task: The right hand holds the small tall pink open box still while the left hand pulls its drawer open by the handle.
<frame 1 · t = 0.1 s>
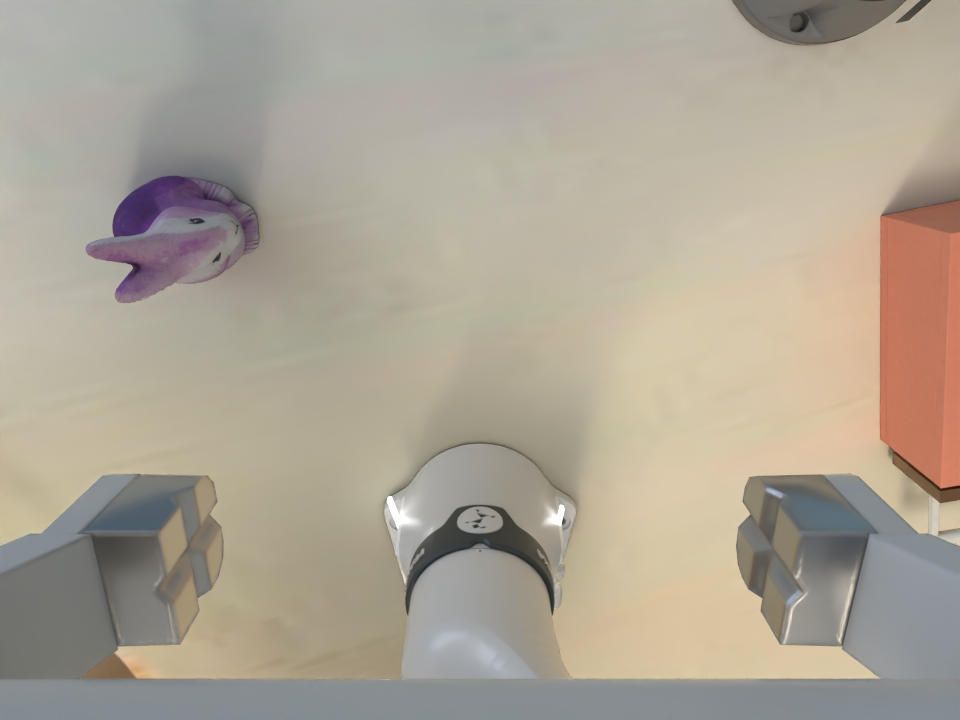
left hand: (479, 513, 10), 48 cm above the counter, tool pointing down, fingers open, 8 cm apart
tall pink open box: (941, 322, 59), on the counter
figurine: (207, 220, 56), on the counter
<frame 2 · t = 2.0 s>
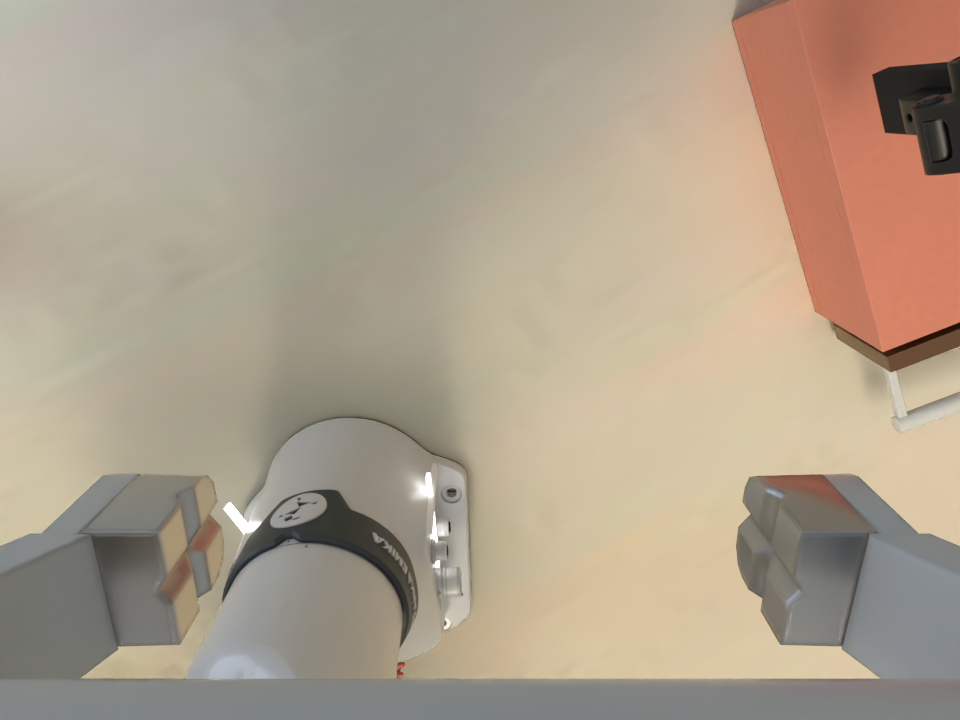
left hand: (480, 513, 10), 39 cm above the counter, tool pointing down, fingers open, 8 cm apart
drawer: (909, 233, 43), point 4 cm above the counter, slide at 1.0 cm
tall pink open box: (852, 143, 46), on the counter
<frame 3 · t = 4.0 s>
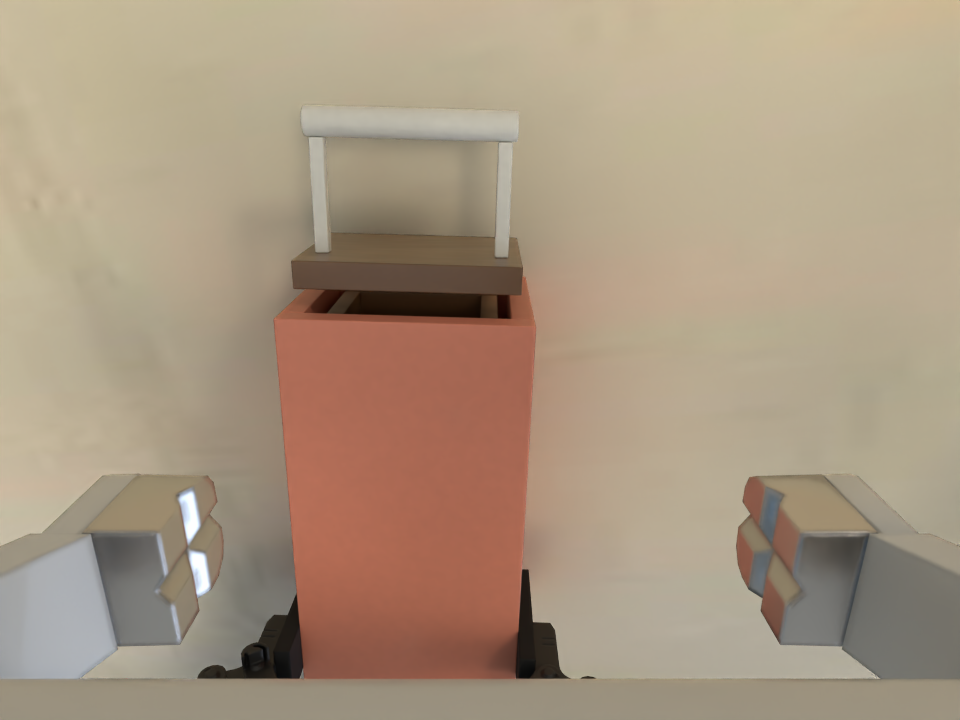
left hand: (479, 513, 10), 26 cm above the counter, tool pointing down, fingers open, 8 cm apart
drawer: (416, 389, 33), point 4 cm above the counter, slide at 1.0 cm
tall pink open box: (425, 452, 39), on the counter, touching right hand
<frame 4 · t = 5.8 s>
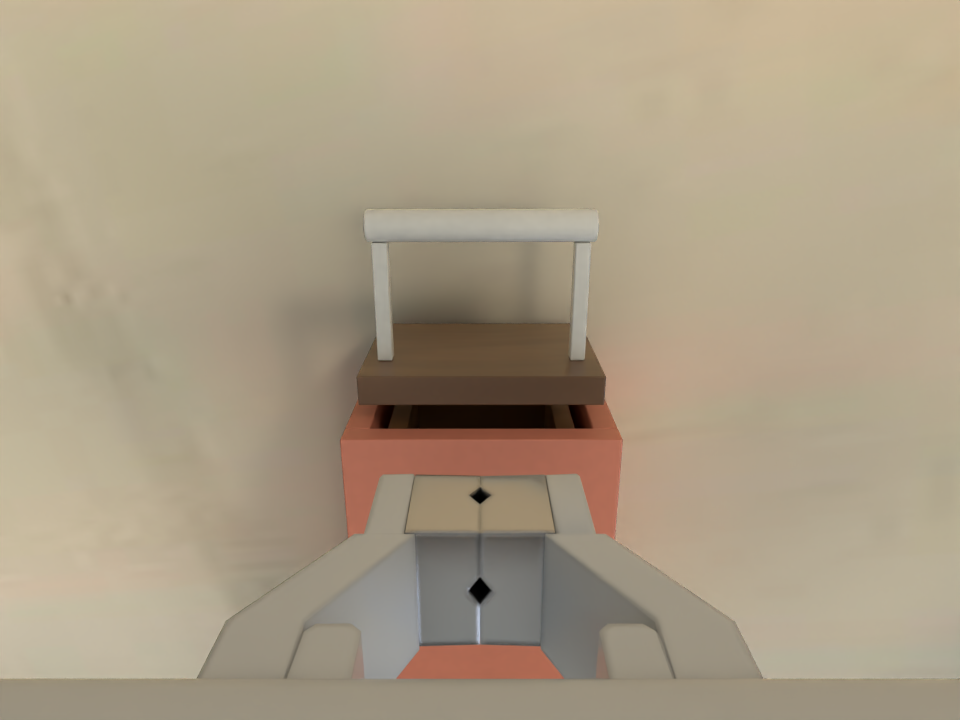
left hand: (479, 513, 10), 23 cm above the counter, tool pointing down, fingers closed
drawer: (481, 489, 31), point 4 cm above the counter, slide at 1.0 cm
tall pink open box: (481, 538, 37), on the counter, touching right hand
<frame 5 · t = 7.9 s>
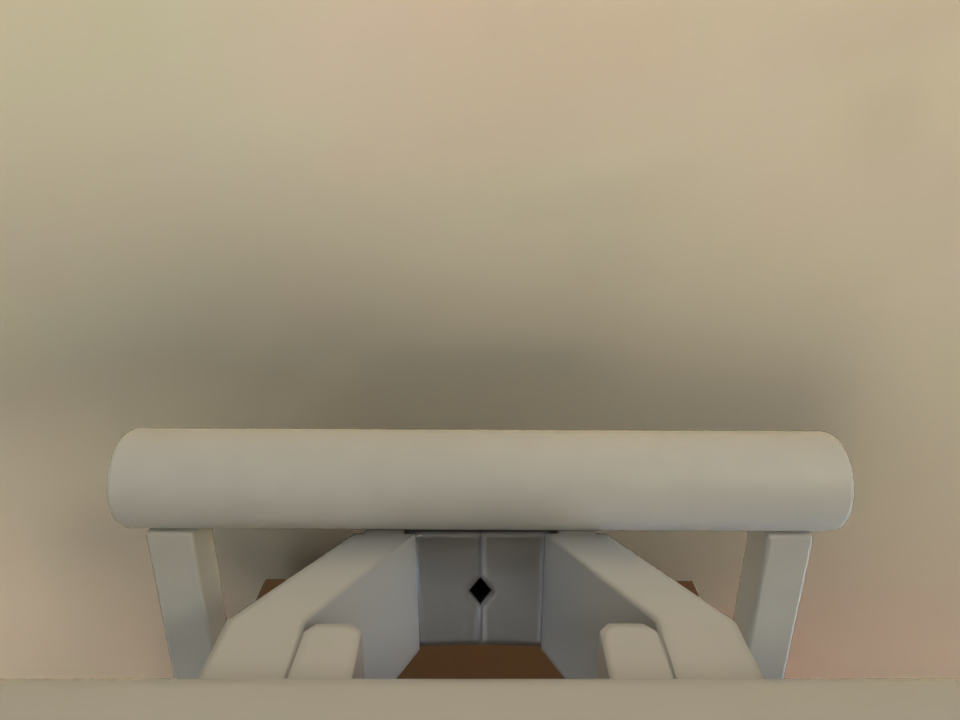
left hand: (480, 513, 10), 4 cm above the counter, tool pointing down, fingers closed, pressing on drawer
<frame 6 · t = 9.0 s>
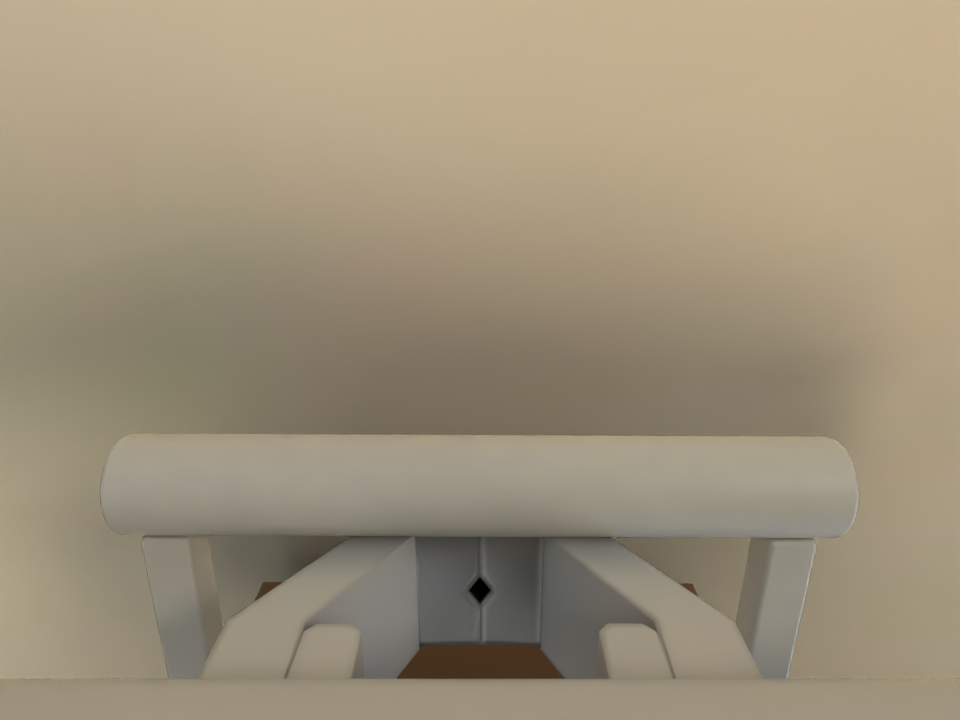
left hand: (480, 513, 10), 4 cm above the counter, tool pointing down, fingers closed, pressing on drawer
when the right hand's fingers open (4 cm above the counter, at t = 10.8 s): tall pink open box stays where it is, on the counter.
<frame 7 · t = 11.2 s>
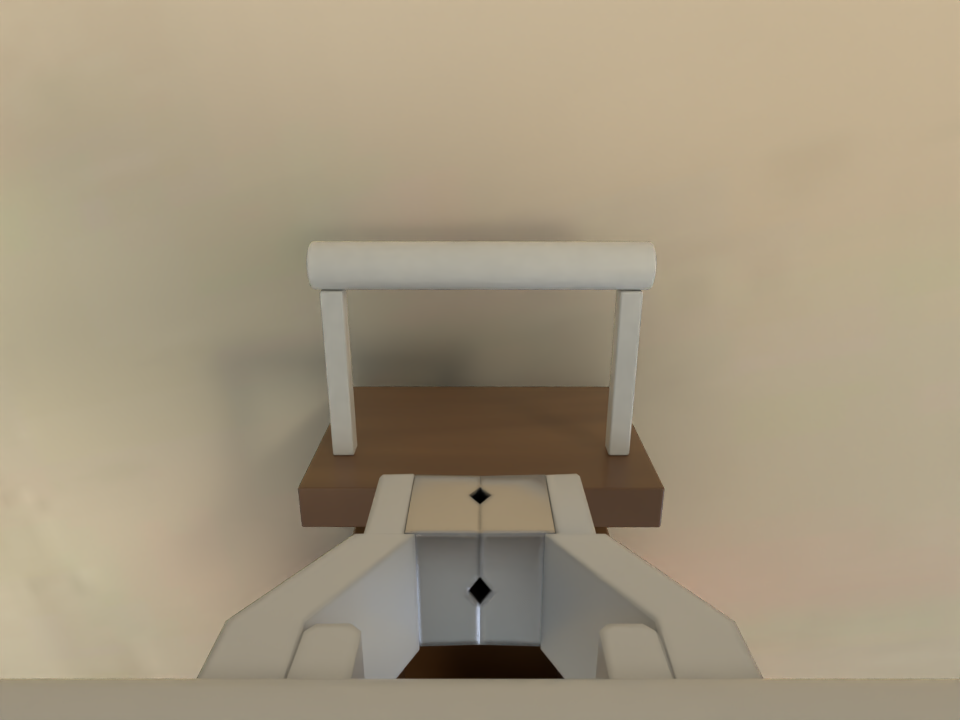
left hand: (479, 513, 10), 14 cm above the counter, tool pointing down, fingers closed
drawer: (480, 614, 23), point 4 cm above the counter, slide at 7.4 cm
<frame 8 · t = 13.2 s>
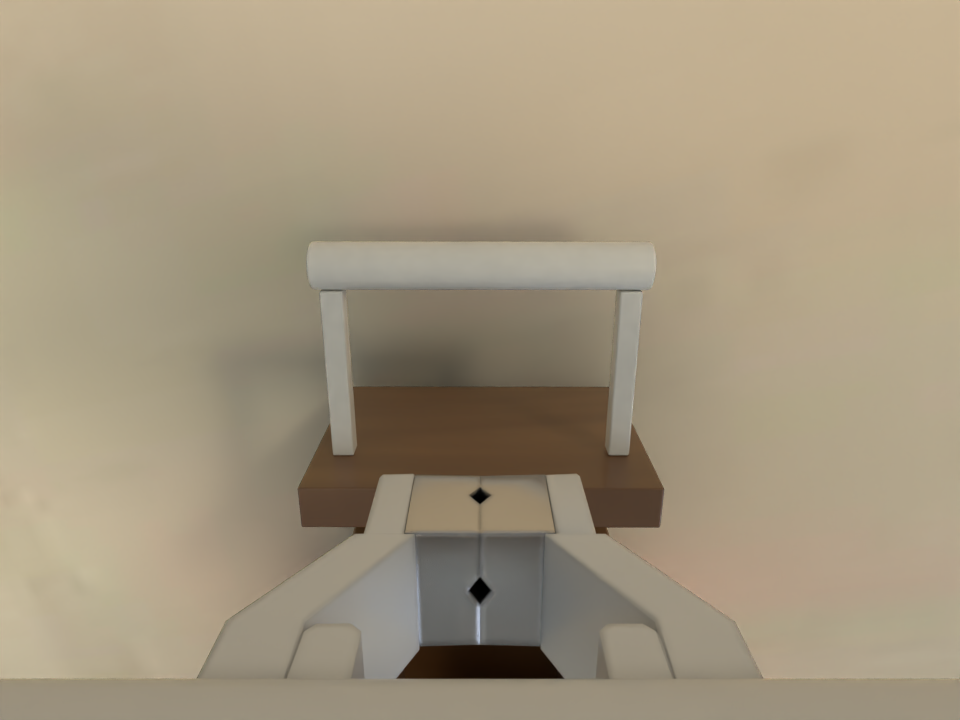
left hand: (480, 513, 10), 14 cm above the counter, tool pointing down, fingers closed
drawer: (480, 614, 23), point 4 cm above the counter, slide at 7.4 cm
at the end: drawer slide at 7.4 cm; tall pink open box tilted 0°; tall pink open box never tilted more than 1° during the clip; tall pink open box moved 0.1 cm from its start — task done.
